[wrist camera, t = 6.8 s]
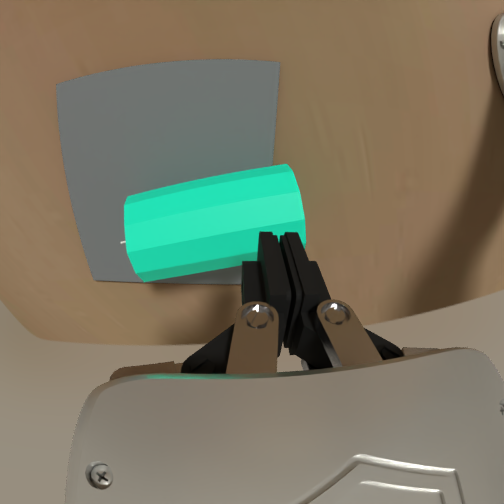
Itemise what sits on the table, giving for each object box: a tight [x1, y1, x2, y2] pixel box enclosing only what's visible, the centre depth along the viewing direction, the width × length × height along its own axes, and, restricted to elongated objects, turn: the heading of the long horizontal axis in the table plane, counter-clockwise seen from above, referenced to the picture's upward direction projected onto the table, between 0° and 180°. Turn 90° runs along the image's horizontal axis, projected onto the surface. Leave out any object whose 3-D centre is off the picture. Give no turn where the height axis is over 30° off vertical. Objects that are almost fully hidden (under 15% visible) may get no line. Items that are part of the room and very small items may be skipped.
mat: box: [56, 59, 280, 284], centre depth 19 cm, size 16×18×1 cm
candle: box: [121, 164, 306, 282], centre depth 18 cm, size 6×6×12 cm
